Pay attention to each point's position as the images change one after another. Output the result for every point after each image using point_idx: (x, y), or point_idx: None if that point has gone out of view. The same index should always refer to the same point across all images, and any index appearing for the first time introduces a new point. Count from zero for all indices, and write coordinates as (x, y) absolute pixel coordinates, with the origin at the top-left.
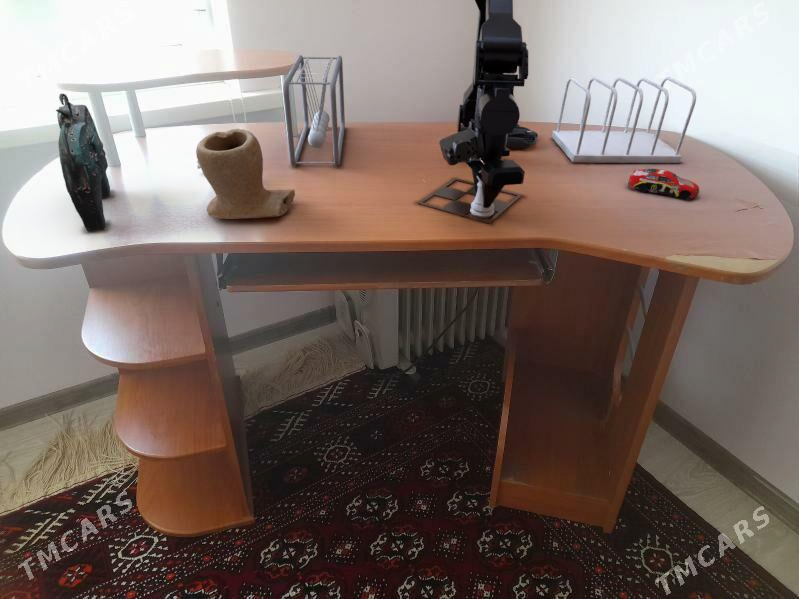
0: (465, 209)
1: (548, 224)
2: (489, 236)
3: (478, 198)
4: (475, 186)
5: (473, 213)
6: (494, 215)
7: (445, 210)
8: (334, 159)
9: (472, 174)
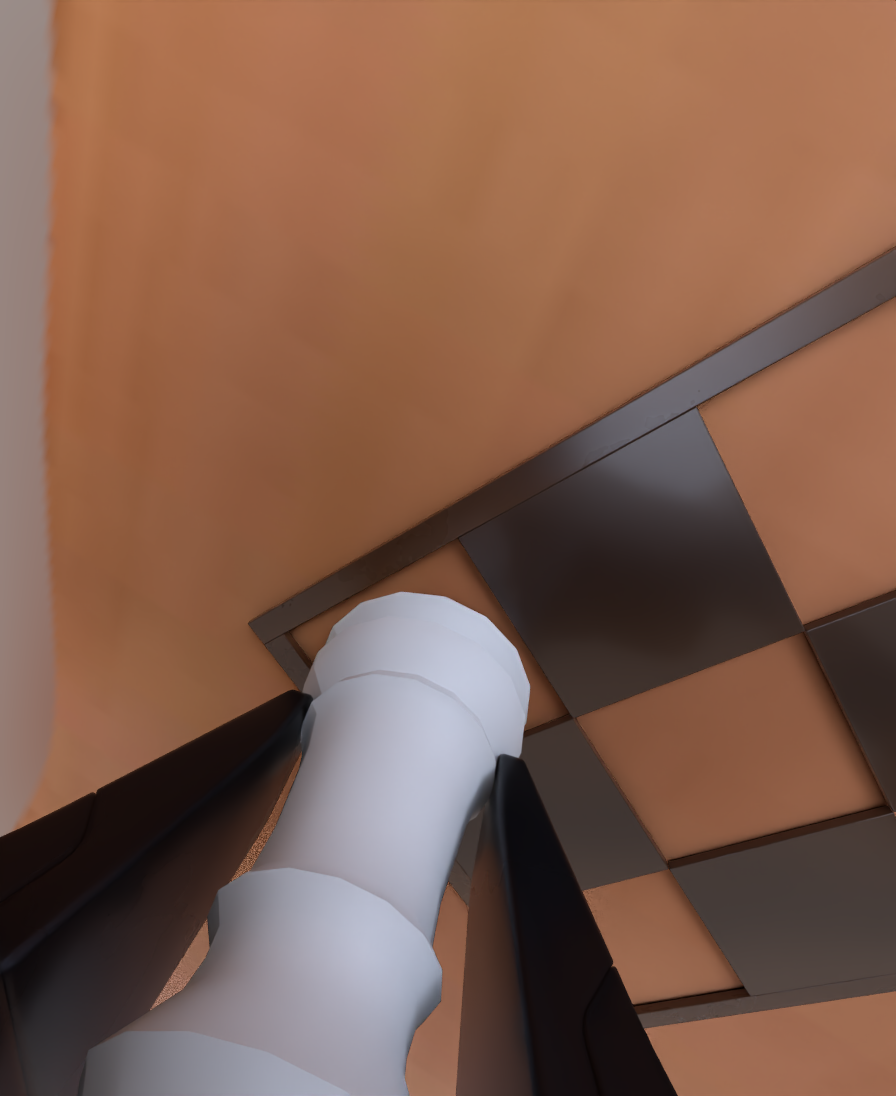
0: (552, 601)
1: None
2: (72, 506)
3: (352, 728)
4: (522, 869)
5: (394, 596)
6: None
7: (633, 404)
8: None
9: (669, 1093)
